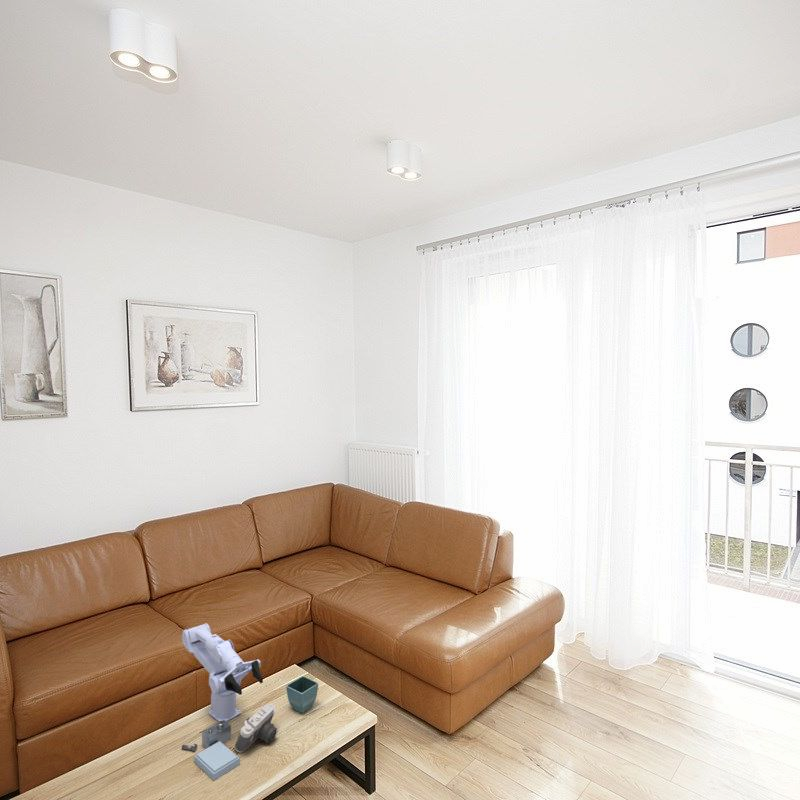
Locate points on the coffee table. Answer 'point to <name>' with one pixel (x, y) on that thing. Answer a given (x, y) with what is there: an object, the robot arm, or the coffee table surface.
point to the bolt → (190, 747)
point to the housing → (216, 734)
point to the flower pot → (302, 693)
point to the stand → (216, 760)
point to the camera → (257, 728)
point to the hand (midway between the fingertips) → (251, 686)
